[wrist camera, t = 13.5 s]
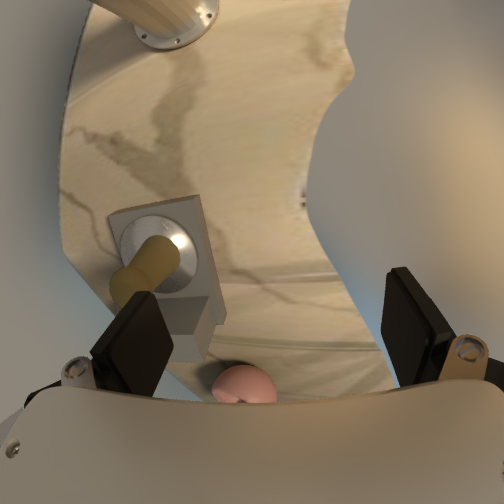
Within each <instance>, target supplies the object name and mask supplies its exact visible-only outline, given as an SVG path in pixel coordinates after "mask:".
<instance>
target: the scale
mask: <svg viewBox="0 0 504 504" xmlns="http://www.w3.org/2000/svg"><path fill="white" fill-rule="evenodd" d="M152 214H154V215H163V216H166V217H169V218H171V219H173V220H175V221H176V222H178V223H179V224H180V225H182V226H183V227H184V228H185V229H186V230H187V231H188V233H189V234H190V235H191V237H192V239H193V241H194V243H195V245H196V248H197V252H198V267H197V271H196V273H195V275H194V277H193V279H192V280H191V282H190V283H189V284H188V285H187V286H186V287H185V288H183V289H182V290H180V291H178V292H175V293H169V294H163V293H157V292H153V293H152V294H154V295H155V297H156V300H157V302H158V305H159V308H160V310H161V313H162V316H163V318H164V321H165V323H166V326H167V328H168V331H169V333H170V336H171V338H172V341H173V344H174V348H173V351H172V354H171V356H170V358H169V360H168V362H191V363H204V360H205V357H206V354H207V350H208V347H209V344H210V341H211V338H212V335H213V332H214V329H215V326H216V325H223V324H224V321H225V318H226V314H227V312H226V308H225V304H224V300H223V296H222V292H221V288H220V284H219V280H218V276H217V272H216V267H215V263H214V259H213V254H212V250H211V246H210V241H209V237H208V232H207V228H206V223H205V219H204V214H203V209H202V204H201V200H200V195H199V194H198V195H192V196H187V197H181V198H176V199H170V200H165V201H160V202H155V203H150V204H145V205H140V206H135V207H130V208H126V209H121V210H118V211H116V212H114V213H112V214H111V215H109V216H108V218H109V221H110V225H111V228H112V231H113V235H114V238H115V241H116V244H117V247H118V250H119V253H120V256H121V240H122V236H123V234H124V232H125V230H126V229H127V227H128V226H129V225H130V224H131V223H132V222H134V221H135V220H137V219H138V218H140V217H143V216H146V215H152ZM121 259H122V257H121ZM122 262H123V260H122ZM123 265H124V263H123ZM124 267H125V266H124Z"/></svg>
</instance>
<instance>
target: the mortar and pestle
mask: <svg viewBox="0 0 504 504" xmlns="http://www.w3.org/2000/svg"><path fill="white" fill-rule="evenodd" d="M211 391H212V394H213V395H214V397H215V398H216V399H217V400H218V401H219V402H221V403H271V402H277V390H276V386H275V384H274V382H273V380H272V379H271V377H270V376H269V375H268V374H267V373H266V372H264V371H263V370H261V369H259V368H257V367H255V366H251V365H237V366H233V367H230V368H228V369H226V370H225V371H223V372H222V373H221V374H220V375H219V376H218V377H217V378H216V380H215V381H214V383H213V385H212V389H211Z"/></svg>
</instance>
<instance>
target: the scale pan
mask: <svg viewBox="0 0 504 504" xmlns="http://www.w3.org/2000/svg"><path fill="white" fill-rule="evenodd" d="M154 235H162V236H165V237H167V238H169V239H170V240H171V241H173V242H174V243H175V245H176V246H177V247H178V250H179V252H180V264H179V266H178V268H177V269H176V270H175V271H174V272H173V273H172V274H171V275H170V276H169V277H168V278H166V279H165V280H164V281H163V282H162V283H161V284H160V285H159V286H158V287H156V288H155V289H154V290H153V292H157V293H163V294H169V293H175V292H178V291H180V290H182V289H183V288H185V287H186V286H187V285H188V284H189V283H190V282H191V280H192V279H193V277H194V275H195V273H196V271H197V267H198V252H197V248H196V245H195V243H194V241H193V239H192V237H191V235H190V234H189V233H188V231H187V230H186V229H185V228H184V227H183V226H182V225H180V224H179V223H178V222H176V221H175V220H173V219H171V218H169V217H166V216H163V215H154V214H152V215H146V216H143V217H140V218H138V219H137V220H135V221H134V222H132V223H131V224H130V225H129V226H128V227H127V229H126V230H125V232H124V234H123V236H122V240H121V257H122V260H123V263H124V266H125V267H127V266H128V264H129V263H130V262H131V260H132V259H133V257H134V256H135V254H136V253H137V251H138V250H139V249H140V247H141V246H142V244H143V243H144V241H145V240H146V239H147V238H149V237H150V236H154Z"/></svg>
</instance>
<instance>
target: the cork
mask: <svg viewBox="0 0 504 504" xmlns="http://www.w3.org/2000/svg"><path fill="white" fill-rule="evenodd" d="M179 264H180V252H179V250H178V247H177V246H176V245H175V243H174V242H173V241H171V240H170V239H169V238H167V237H165V236H162V235H154V236H150V237H149V238H147V239H146V240H145V241H144V243H143V244H142V246H141V247H140V249H139V250H138V251H137V253H136V254H135V256H134V257H133V259H132V260H131V262H130V263H129V264H128V266H127V267H123V268H121V269H119V270H118V271H117V272H115V273H114V275H113V276H112V278H111V280H110V287H109V290H110V294H111V296H112V298H113V300H114V301H115V303H116V304H117V305H118V306H120V307H121V308H123V307H124V306H125V305H126V303H127V302H128V301H129V299H130V298H131V297H132V296H133V295H134V293H135V292H136V291H150V292H151V293H153V290H154V289H155V288H156V287H158V286H159V285H160V284H161V283H162V282H163V281H164V280H165V279H166V278H168V277H169V276H170V275H171V274H172V273H173V272H174V271H175V270H176V269H177V268H178V266H179Z"/></svg>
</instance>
